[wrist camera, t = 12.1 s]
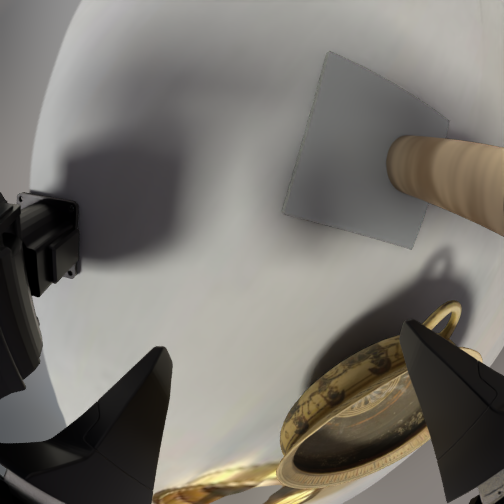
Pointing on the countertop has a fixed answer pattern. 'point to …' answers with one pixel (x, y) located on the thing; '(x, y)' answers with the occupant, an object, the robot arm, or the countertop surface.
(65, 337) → the countertop surface
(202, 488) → the countertop surface
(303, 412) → the gold ornate bowl
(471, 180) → the oak pepper mill
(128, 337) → the countertop surface
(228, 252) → the countertop surface
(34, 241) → the robot arm
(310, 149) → the slate tile
